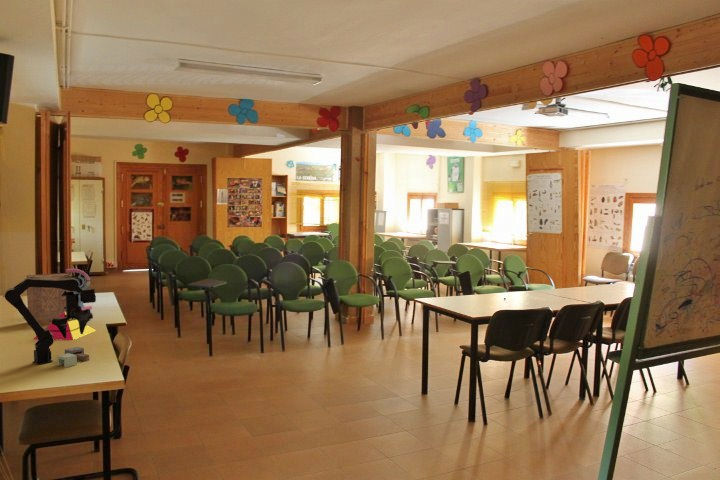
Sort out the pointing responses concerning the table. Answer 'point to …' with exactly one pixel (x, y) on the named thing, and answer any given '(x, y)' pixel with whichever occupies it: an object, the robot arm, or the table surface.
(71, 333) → the pyramid toy
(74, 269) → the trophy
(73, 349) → the charcoal end cap
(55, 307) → the book
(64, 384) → the table surface
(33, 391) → the table surface
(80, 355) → the walnut rail
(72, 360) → the sage green end cap
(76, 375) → the table surface
